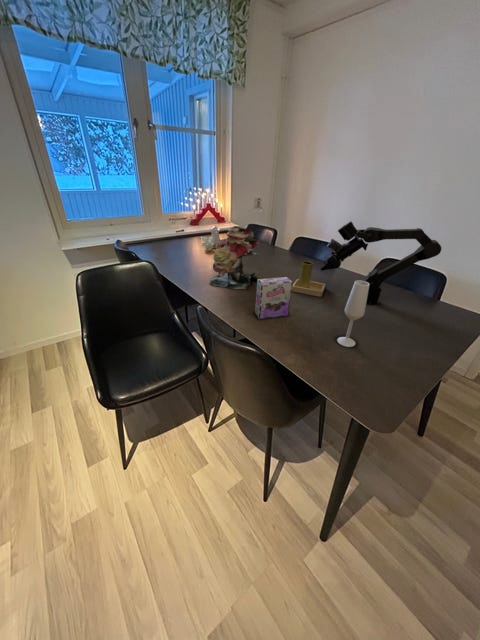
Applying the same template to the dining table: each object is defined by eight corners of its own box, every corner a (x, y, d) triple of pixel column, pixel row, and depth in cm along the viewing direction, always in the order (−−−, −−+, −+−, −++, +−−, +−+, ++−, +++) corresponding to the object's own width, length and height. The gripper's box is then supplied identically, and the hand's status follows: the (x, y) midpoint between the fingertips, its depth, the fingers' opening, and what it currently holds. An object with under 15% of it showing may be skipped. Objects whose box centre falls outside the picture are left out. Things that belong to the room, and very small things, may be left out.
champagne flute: (351, 336, 107) (367, 279, 95) (358, 346, 101) (376, 287, 89) (334, 336, 106) (348, 279, 94) (340, 346, 101) (356, 286, 89)
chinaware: (198, 244, 223) (195, 224, 215) (218, 241, 227) (215, 221, 218) (205, 254, 200) (201, 231, 192) (227, 251, 204) (224, 228, 195)
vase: (309, 291, 143) (313, 265, 136) (297, 290, 144) (301, 263, 137) (309, 286, 148) (313, 261, 141) (297, 285, 149) (301, 260, 142)
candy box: (258, 319, 117) (261, 283, 108) (254, 313, 121) (256, 278, 113) (288, 316, 120) (293, 281, 112) (283, 310, 125) (287, 276, 117)
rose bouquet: (224, 269, 169) (223, 219, 154) (266, 279, 156) (270, 225, 141) (198, 282, 150) (195, 226, 135) (243, 295, 137) (246, 234, 122)
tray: (324, 288, 148) (325, 283, 146) (321, 296, 138) (322, 291, 137) (296, 283, 153) (297, 278, 151) (291, 291, 144) (291, 286, 142)
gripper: (342, 230, 134) (316, 249, 144) (337, 238, 120) (309, 259, 129) (355, 248, 136) (328, 266, 145) (352, 258, 121) (323, 277, 130)
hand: (322, 267), depth 137 cm, fingers open, 9 cm apart
